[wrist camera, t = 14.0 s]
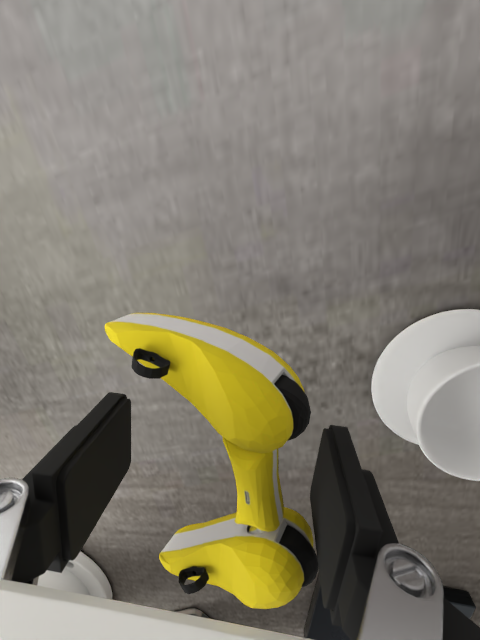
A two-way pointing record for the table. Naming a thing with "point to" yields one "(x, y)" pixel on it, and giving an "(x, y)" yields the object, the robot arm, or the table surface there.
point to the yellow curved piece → (232, 454)
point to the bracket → (332, 636)
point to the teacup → (435, 389)
